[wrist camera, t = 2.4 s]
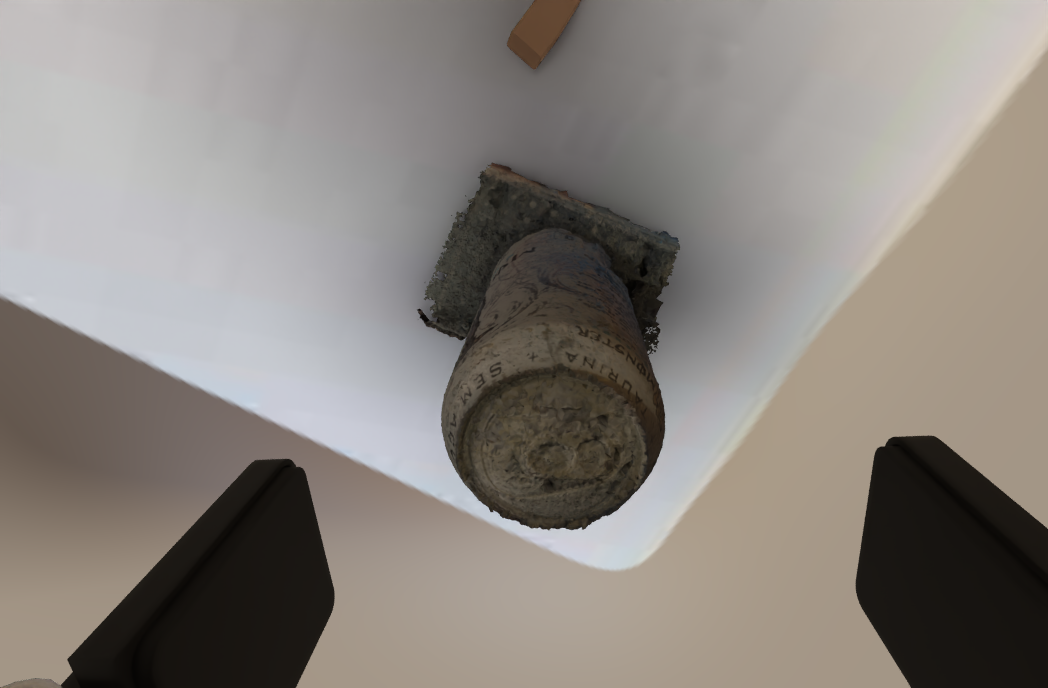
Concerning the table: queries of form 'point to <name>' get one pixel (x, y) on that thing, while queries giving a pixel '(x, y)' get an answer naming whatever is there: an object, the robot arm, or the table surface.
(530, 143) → the table surface
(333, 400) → the table surface
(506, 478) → the small column statue
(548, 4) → the toilet paper hanger
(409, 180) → the table surface
